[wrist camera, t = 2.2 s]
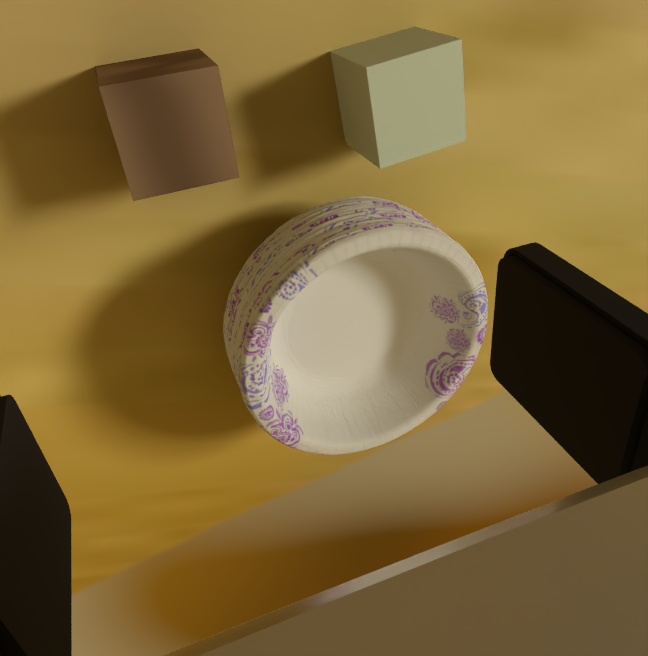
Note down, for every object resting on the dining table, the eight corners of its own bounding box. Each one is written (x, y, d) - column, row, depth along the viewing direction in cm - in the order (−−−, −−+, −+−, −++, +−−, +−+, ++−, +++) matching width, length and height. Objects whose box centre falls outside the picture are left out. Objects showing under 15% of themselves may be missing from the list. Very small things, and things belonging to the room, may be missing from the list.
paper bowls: (439, 336, 45) (498, 400, 39) (251, 413, 43) (281, 495, 37) (416, 143, 36) (488, 186, 30) (175, 228, 34) (199, 294, 28)
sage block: (414, 26, 32) (461, 38, 29) (422, 117, 35) (466, 140, 32) (329, 51, 32) (366, 67, 28) (345, 142, 35) (380, 168, 31)
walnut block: (198, 48, 29) (217, 65, 26) (218, 148, 32) (239, 177, 28) (95, 66, 28) (98, 86, 24) (125, 167, 31) (133, 200, 27)
